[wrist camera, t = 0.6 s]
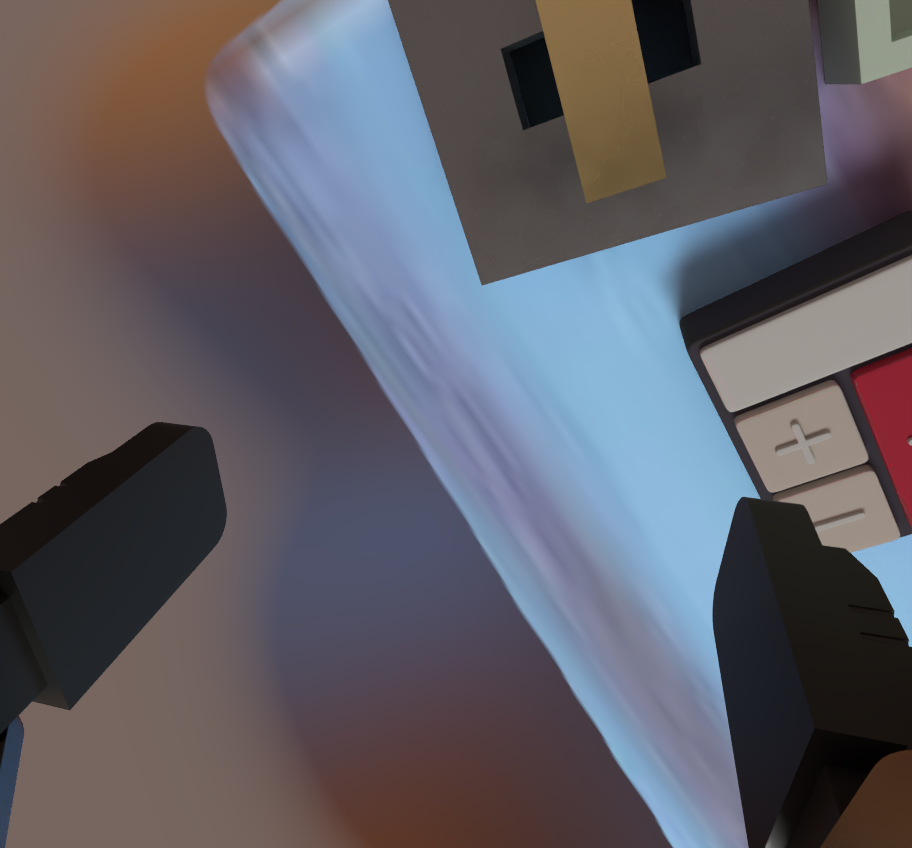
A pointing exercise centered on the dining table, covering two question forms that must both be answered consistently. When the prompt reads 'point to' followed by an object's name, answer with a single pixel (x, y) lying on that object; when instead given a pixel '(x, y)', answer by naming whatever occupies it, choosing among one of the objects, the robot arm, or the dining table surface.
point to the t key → (603, 93)
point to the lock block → (676, 115)
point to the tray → (864, 39)
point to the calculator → (821, 383)
